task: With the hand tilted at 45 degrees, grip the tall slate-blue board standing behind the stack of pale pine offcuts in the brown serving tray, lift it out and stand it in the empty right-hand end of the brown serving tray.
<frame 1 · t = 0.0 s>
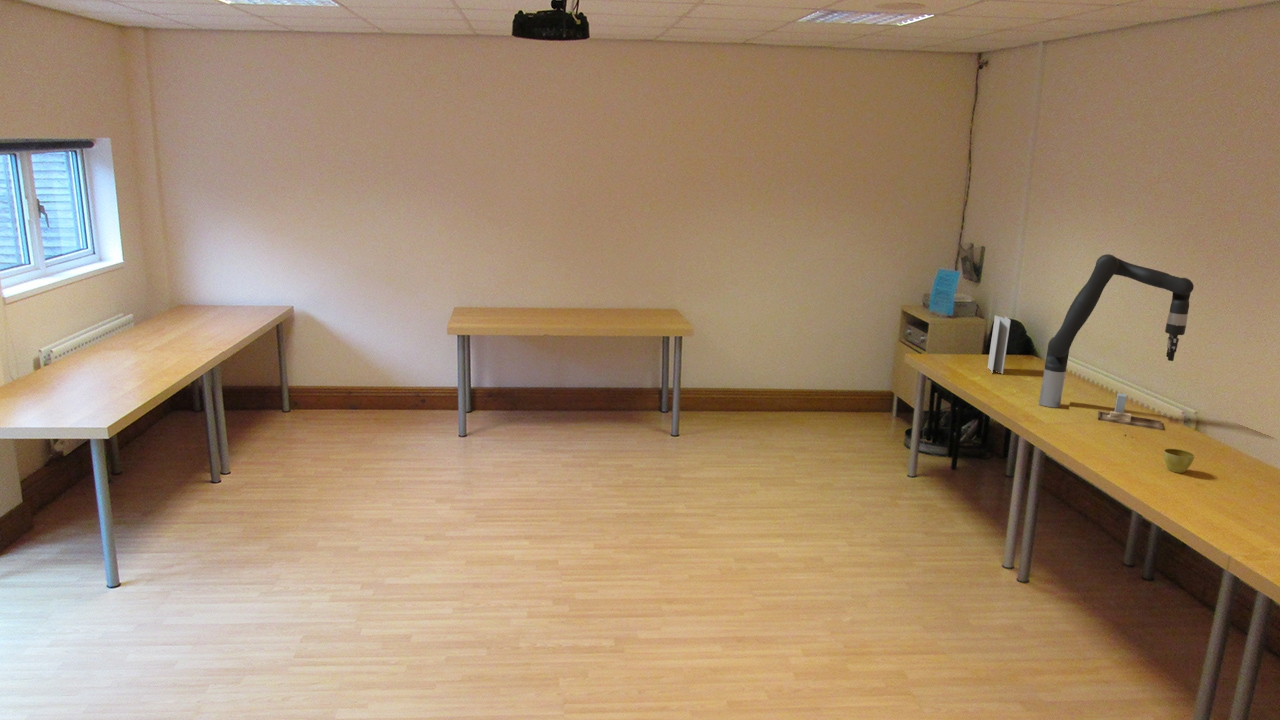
hand: (1169, 358, 392), 29 cm above the table, tool pointing down, fingers open, 8 cm apart
offcut stack: (1118, 421, 389), resting on brown serving tray
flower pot: (1175, 471, 332), on the table
brown serving tray: (1128, 424, 391), on the table
tall board: (1117, 418, 395), point 1 cm above the table, touching brown serving tray
brochure: (994, 371, 483), on the table
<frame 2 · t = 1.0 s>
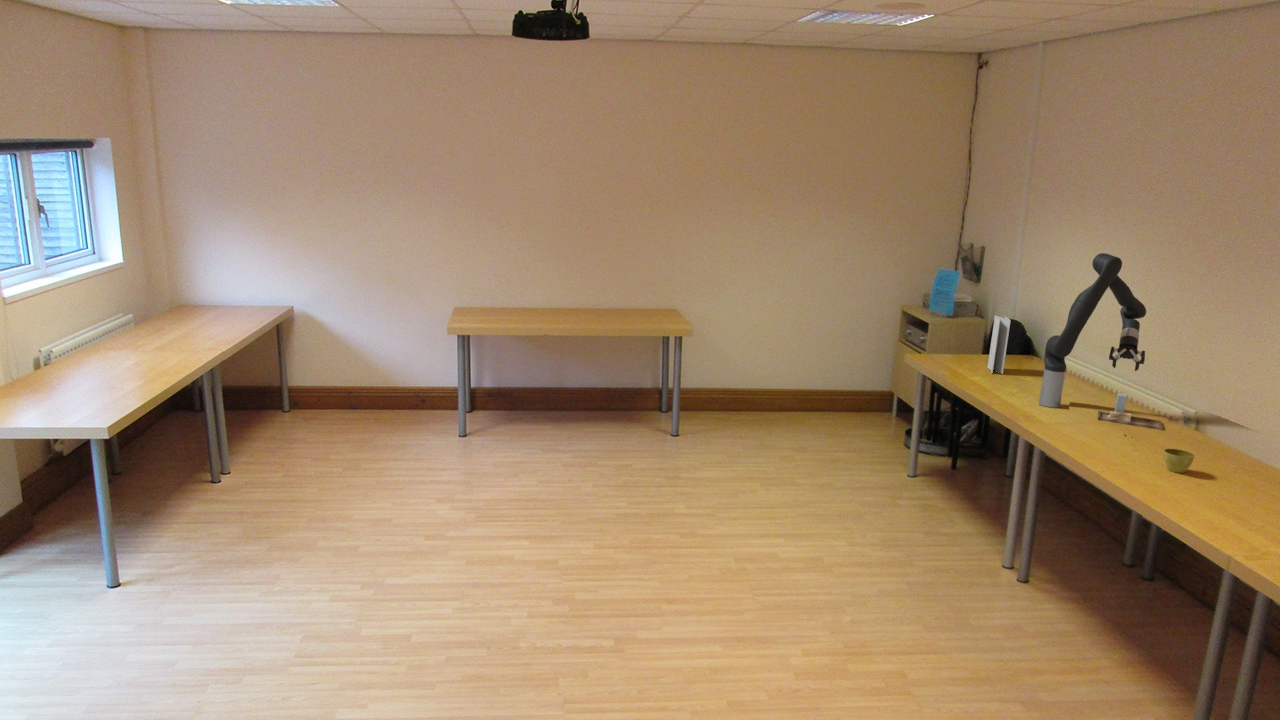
hand: (1125, 368, 400), 22 cm above the table, tool tilted 45°, fingers open, 8 cm apart
nothing on the table moved.
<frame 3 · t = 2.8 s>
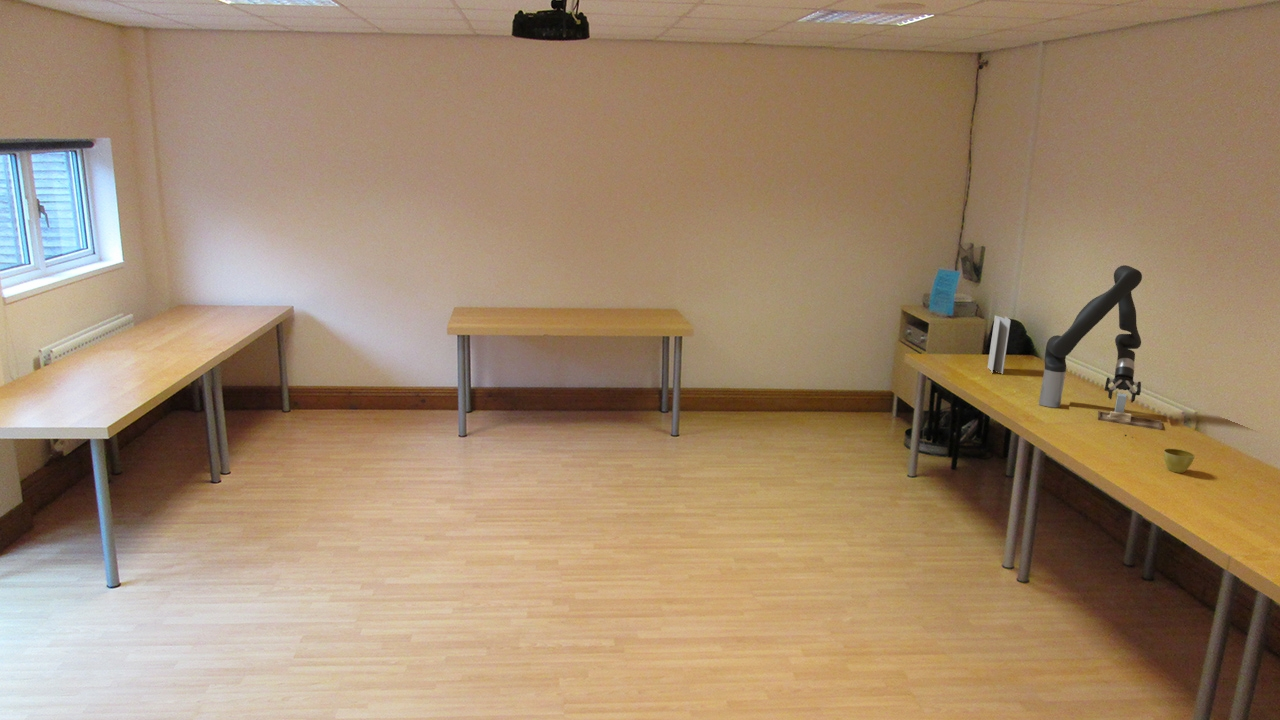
hand: (1121, 400, 395), 10 cm above the table, tool tilted 45°, fingers open, 8 cm apart
nothing on the table moved.
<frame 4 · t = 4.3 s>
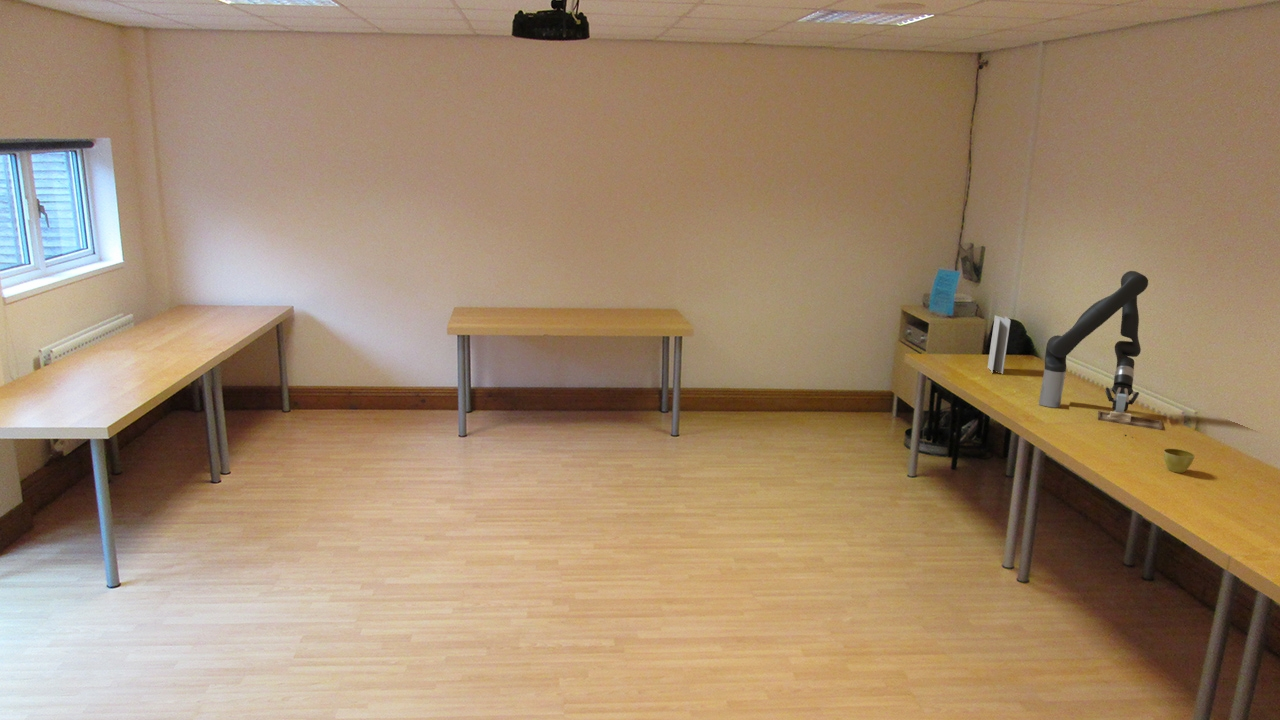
hand: (1119, 409, 392), 6 cm above the table, tool tilted 45°, fingers closed on tall board, 3 cm apart
tall board: (1117, 418, 395), point 2 cm above the table, touching gripper, brown serving tray
everything else where it was.
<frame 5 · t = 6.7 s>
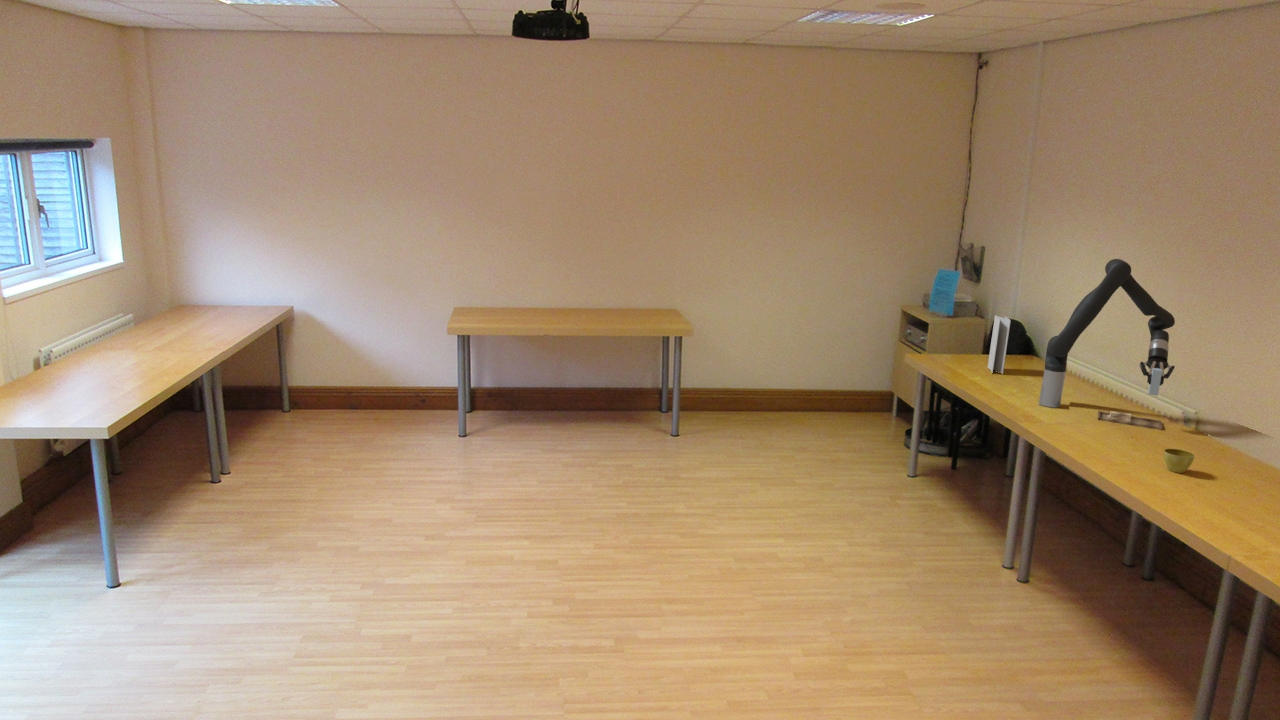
hand: (1155, 383, 383), 20 cm above the table, tool tilted 45°, fingers closed on tall board, 3 cm apart
tall board: (1152, 393, 386), point 15 cm above the table, touching gripper
everything else where it was.
when the fingers open (7 cm above the table, at t = 9.4 s): tall board stays where it is, resting on brown serving tray.
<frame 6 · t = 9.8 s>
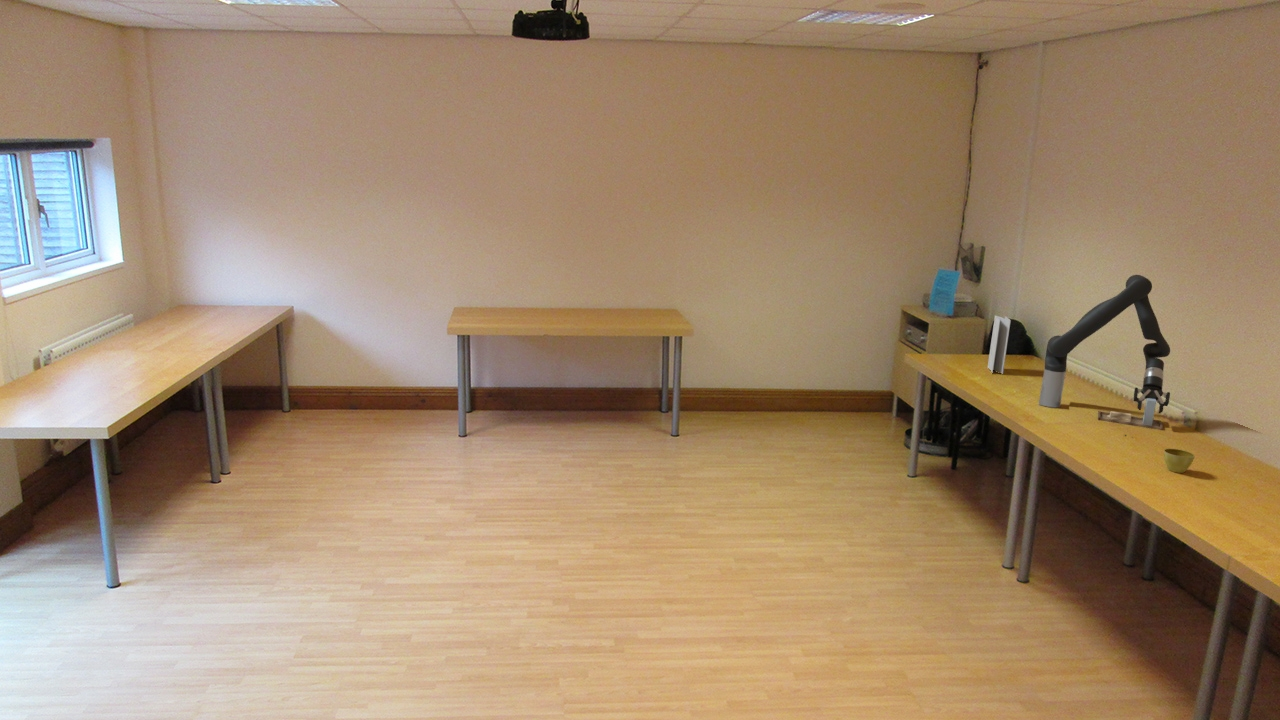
hand: (1149, 410, 386), 8 cm above the table, tool tilted 45°, fingers open, 7 cm apart
tall board: (1147, 423, 389), point 1 cm above the table, touching brown serving tray
everything else where it was.
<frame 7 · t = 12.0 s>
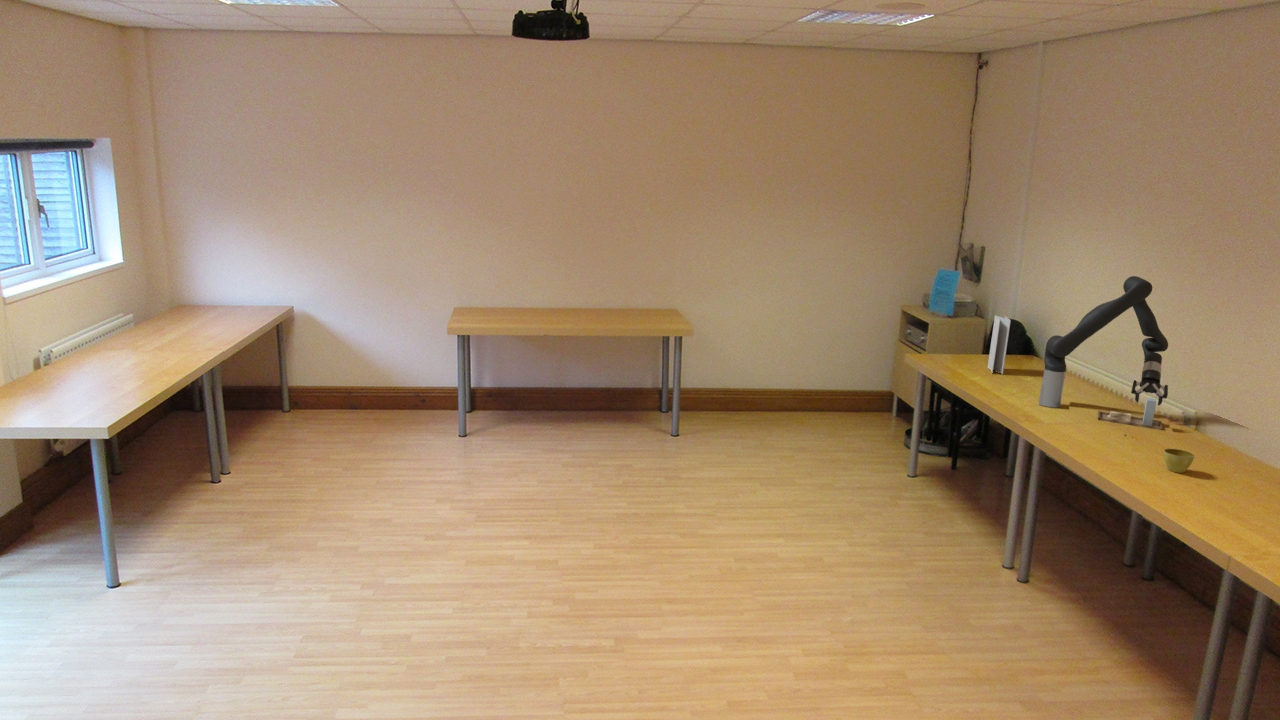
hand: (1148, 402, 398), 8 cm above the table, tool tilted 45°, fingers open, 8 cm apart
nothing on the table moved.
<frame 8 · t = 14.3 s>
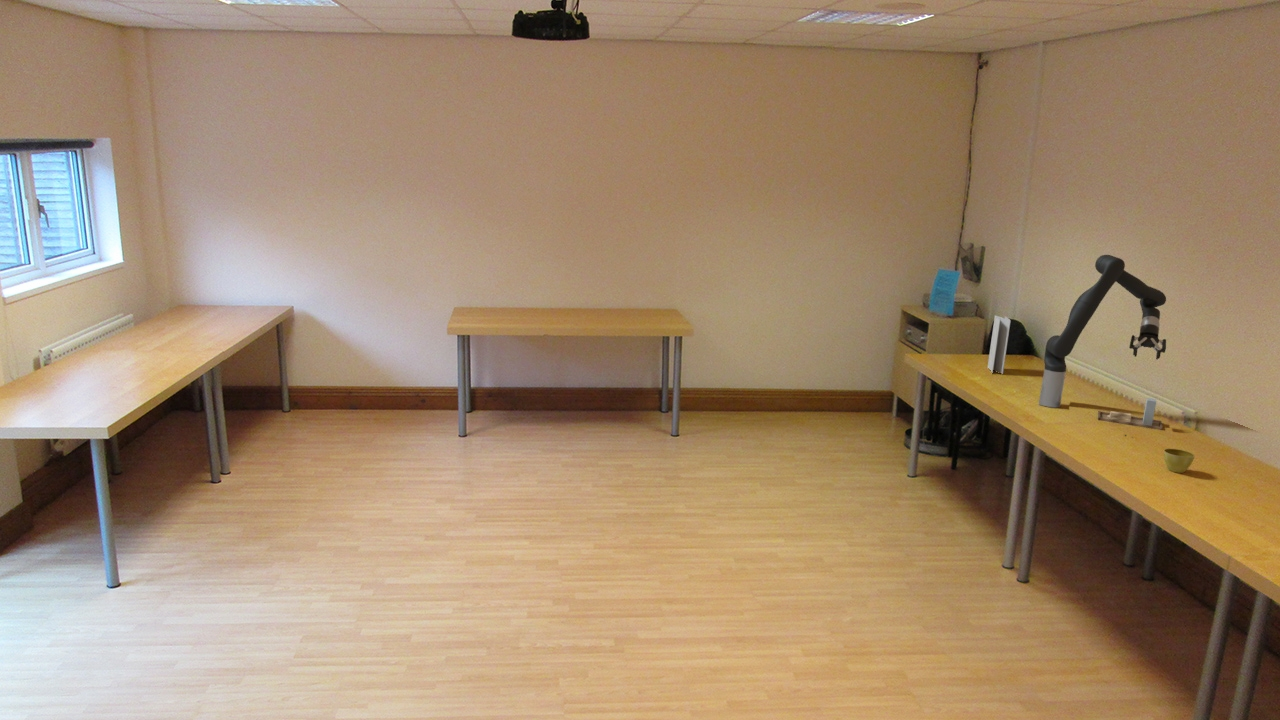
hand: (1146, 357, 396), 29 cm above the table, tool tilted 45°, fingers open, 8 cm apart
nothing on the table moved.
at the end: tall board inside the target area (0.6 cm from its centre), point 1.5 cm above the table; tall board tilted 0°; the gripper is holding nothing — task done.
